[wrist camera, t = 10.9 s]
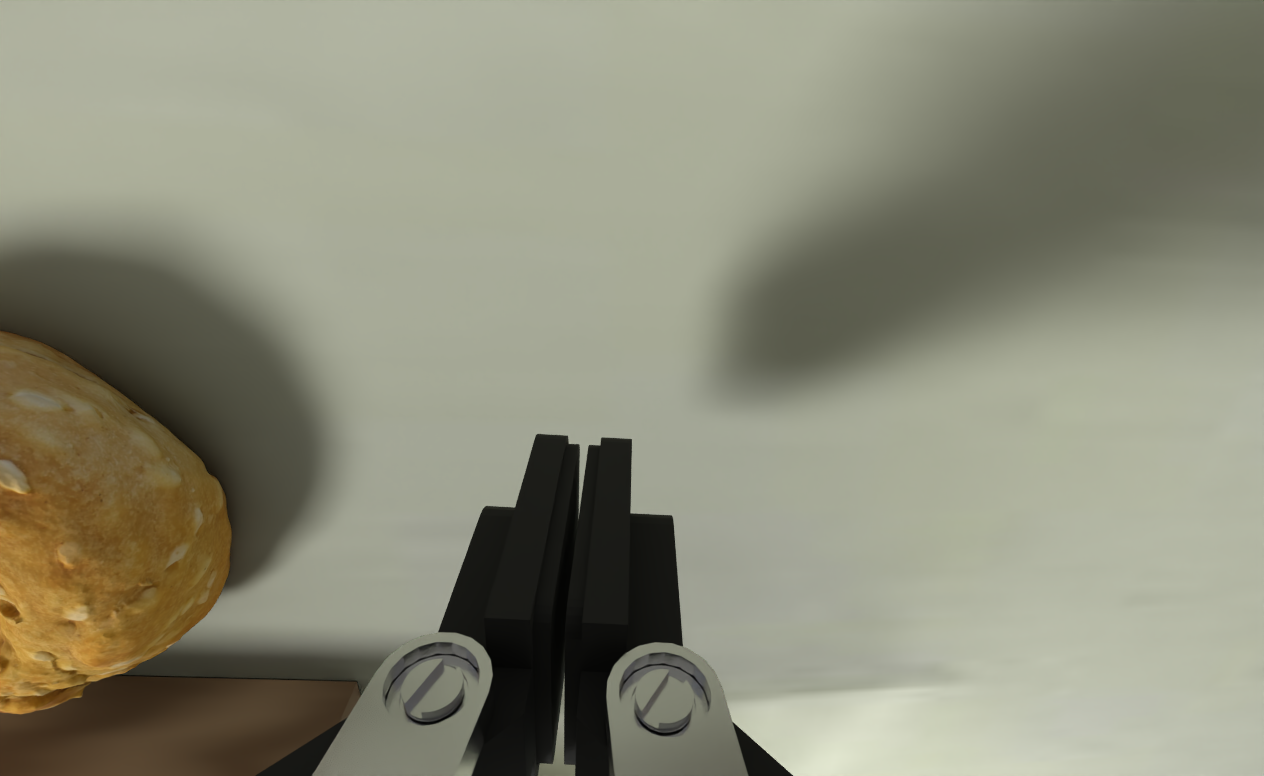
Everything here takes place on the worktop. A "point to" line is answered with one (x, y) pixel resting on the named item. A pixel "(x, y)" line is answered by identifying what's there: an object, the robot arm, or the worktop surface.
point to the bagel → (94, 530)
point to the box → (172, 727)
